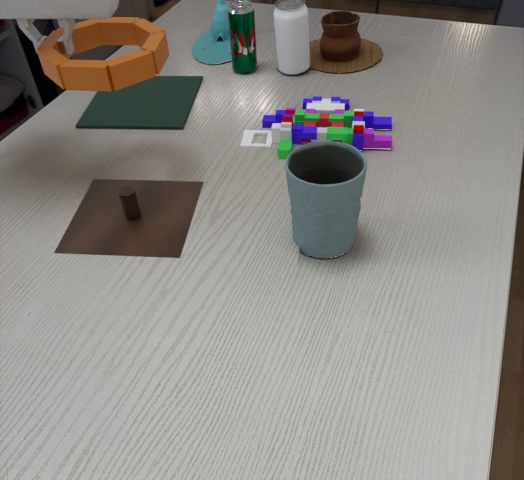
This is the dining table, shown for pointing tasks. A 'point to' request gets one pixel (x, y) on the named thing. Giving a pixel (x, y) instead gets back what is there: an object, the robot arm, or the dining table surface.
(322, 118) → the building block set
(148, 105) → the mat
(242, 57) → the soda can
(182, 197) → the ring toss
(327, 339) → the dining table surface
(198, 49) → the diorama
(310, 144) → the grey blue cup
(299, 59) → the can
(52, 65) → the ring
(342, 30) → the ceramic pot
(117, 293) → the dining table surface
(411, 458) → the dining table surface
